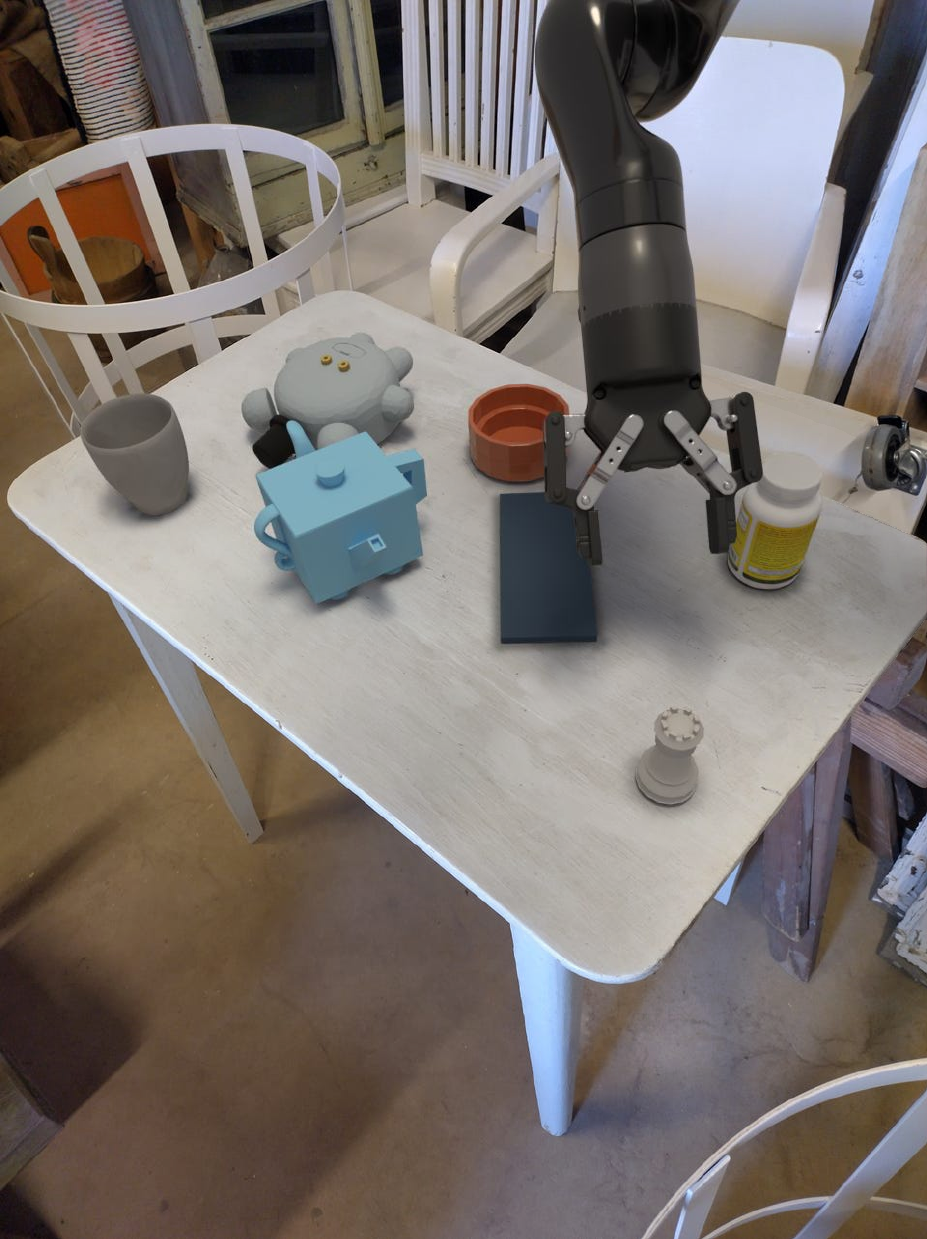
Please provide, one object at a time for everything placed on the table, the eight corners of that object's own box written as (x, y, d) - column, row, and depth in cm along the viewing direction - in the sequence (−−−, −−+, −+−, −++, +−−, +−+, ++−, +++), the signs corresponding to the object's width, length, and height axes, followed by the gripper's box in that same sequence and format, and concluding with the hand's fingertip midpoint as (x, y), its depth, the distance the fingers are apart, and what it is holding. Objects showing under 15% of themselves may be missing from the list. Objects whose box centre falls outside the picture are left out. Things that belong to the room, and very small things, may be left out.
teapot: (313, 654, 69) (281, 563, 61) (240, 531, 80) (205, 438, 71) (472, 579, 74) (464, 484, 65) (384, 471, 84) (367, 377, 76)
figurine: (340, 356, 97) (222, 461, 90) (321, 293, 91) (191, 401, 83) (455, 402, 90) (338, 521, 82) (444, 337, 83) (314, 460, 75)
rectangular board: (500, 499, 80) (500, 493, 80) (581, 496, 80) (582, 490, 79) (501, 643, 69) (501, 637, 68) (596, 641, 68) (597, 635, 68)
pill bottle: (813, 570, 72) (851, 473, 63) (764, 603, 70) (796, 507, 61) (760, 531, 75) (789, 435, 67) (711, 561, 73) (734, 465, 65)
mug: (222, 491, 84) (192, 414, 76) (151, 539, 80) (112, 462, 72) (155, 447, 89) (121, 370, 82) (86, 490, 85) (43, 413, 78)
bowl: (564, 421, 88) (566, 381, 84) (570, 483, 81) (572, 443, 77) (471, 425, 88) (469, 385, 84) (470, 486, 82) (467, 447, 78)
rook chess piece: (659, 742, 62) (673, 681, 56) (709, 778, 60) (729, 719, 54) (622, 780, 60) (632, 722, 54) (672, 819, 58) (688, 763, 52)
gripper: (536, 310, 50) (560, 572, 52) (766, 286, 50) (783, 549, 52) (525, 340, 58) (547, 568, 59) (725, 320, 58) (742, 548, 59)
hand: (657, 559), depth 55 cm, fingers open, 8 cm apart
